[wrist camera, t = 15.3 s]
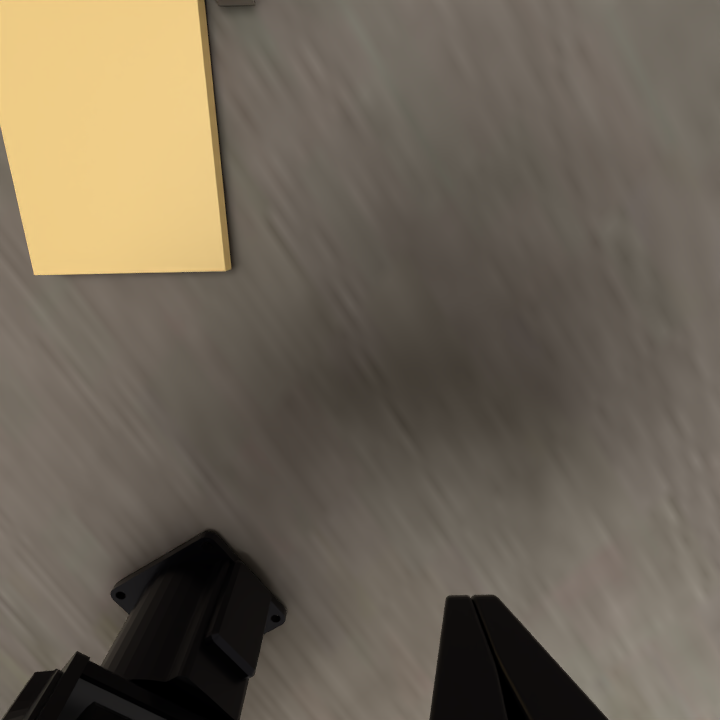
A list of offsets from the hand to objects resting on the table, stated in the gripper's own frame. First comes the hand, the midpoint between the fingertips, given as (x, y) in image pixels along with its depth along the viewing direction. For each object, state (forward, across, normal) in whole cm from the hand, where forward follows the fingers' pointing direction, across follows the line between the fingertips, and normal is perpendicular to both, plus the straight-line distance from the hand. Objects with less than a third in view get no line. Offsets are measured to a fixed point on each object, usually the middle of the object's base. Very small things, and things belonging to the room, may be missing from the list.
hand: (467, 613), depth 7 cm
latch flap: (+12, +10, -9) cm, 18 cm away
